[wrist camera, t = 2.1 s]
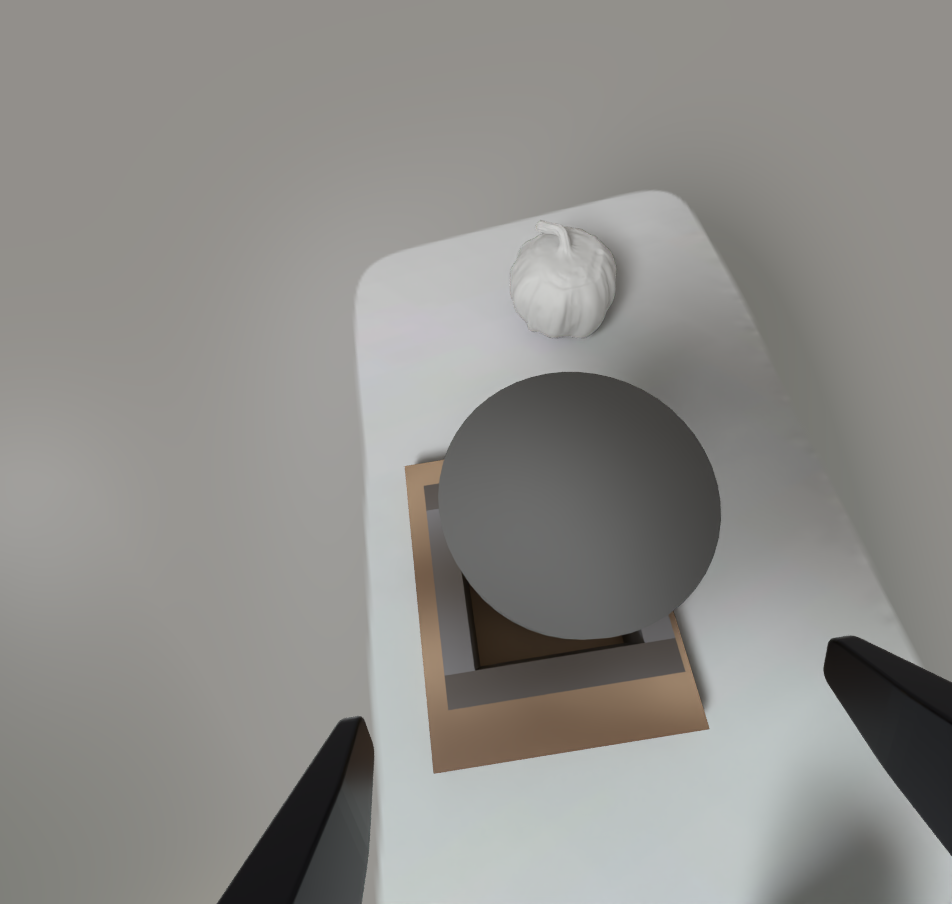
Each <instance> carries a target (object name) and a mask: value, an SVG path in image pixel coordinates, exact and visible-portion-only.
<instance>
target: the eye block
mask: <svg viewBox="0 0 952 904" xmlns="http://www.w3.org/2000/svg"><path fill="white" fill-rule="evenodd" d="M443 461H444V460H439V461H433V462H427V463H421V464H415V465H409V466H405V474H406V485H407V495H408V506H409V517H410V527H411V538H412V549H413V559H414V570H415V580H416V591H417V602H418V612H419V623H420V634H421V644H422V655H423V665H424V676H425V687H426V697H427V708H428V719H429V729H430V740H431V750H432V761H433V772H434V774H435V773H441V772H447V771H453V770H459V769H465V768H472V767H478V766H484V765H490V764H496V763H503V762H509V761H515V760H521V759H527V758H534V757H540V756H546V755H552V754H558V753H564V752H571V751H577V750H583V749H589V748H595V747H602V746H608V745H614V744H620V743H626V742H632V741H639V740H645V739H651V738H657V737H663V736H670V735H676V734H682V733H688V732H694V731H701V730H707V729H709V725H708V722H707V719H706V716H705V712H704V709H703V706H702V703H701V699H700V696H699V693H698V690H697V686H696V683H695V680H694V677H693V673H692V670H691V667H690V663H689V660H688V657H687V654H686V650H685V647H684V644H683V641H682V637H681V634H680V631H679V628H678V624H677V621H676V618H675V615H674V611H672V612H671V613H670V614H669V615H667V616H665V617H664V618H662V619H660V620H659V621H657V622H655V623H654V624H652V625H650V626H647V627H645V628H642V629H640V630H637V631H635V632H632V633H628V634H624V635H620V636H616V637H611V638H600V639H586V640H578V639H562V638H557V637H552V636H546V635H543V634H540V633H537V632H534V631H531V630H528V629H526V628H524V627H522V626H520V625H518V624H516V623H514V622H512V621H510V620H509V619H507V618H506V617H504V616H503V615H501V614H500V613H498V612H497V611H496V610H495V609H493V608H492V607H491V606H490V605H489V604H488V603H487V602H485V601H484V600H483V599H482V597H481V596H480V595H479V594H478V593H477V592H476V591H475V590H474V588H473V587H472V586H471V584H470V583H469V582H468V580H467V579H466V577H465V576H464V574H463V573H462V571H461V570H460V568H459V567H458V565H457V564H456V562H455V560H454V558H453V556H452V554H451V552H450V550H449V548H448V545H447V542H446V539H445V536H444V533H443V530H442V525H441V520H440V514H439V501H438V492H439V480H440V474H441V470H442V465H443Z"/></svg>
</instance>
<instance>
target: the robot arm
mask: <svg viewBox="0 0 952 904" xmlns="http://www.w3.org/2000/svg"><path fill="white" fill-rule="evenodd" d="M823 670H824V676H825V678H826V681H827V683H828V684H829V686H830V688H831V689H832V691H833V692H834V694H835V695H836V697H837V698H838V700H839V701H840V703H841V704H842V706H843V707H844V709H845V710H846V712H847V713H848V715H849V717H850V718H851V720H852V721H853V723H854V724H855V726H856V727H857V729H858V730H859V732H860V733H861V735H862V736H863V738H864V739H865V741H866V742H867V744H868V746H869V747H870V749H871V750H872V752H873V753H874V755H875V756H876V758H877V759H878V760H879V762H880V763H881V765H882V766H883V768H884V769H885V770H886V772H887V773H888V774H889V776H890V777H891V778H892V780H893V781H894V782H895V784H896V785H897V786H898V788H899V789H900V790H901V791H902V793H903V794H904V795H905V797H906V798H907V799H908V800H909V802H910V803H911V804H912V806H913V807H914V808H915V809H916V811H917V812H918V813H919V815H920V816H921V817H922V819H923V820H924V821H925V822H926V824H927V825H928V826H929V828H930V829H931V830H932V831H933V833H934V834H935V835H936V837H937V838H938V839H939V840H940V842H941V843H942V844H943V846H944V847H945V848H946V849H947V851H948V852H949V853H950V855H951V856H952V682H950V681H948V680H946V679H943V678H942V677H939V676H937V675H935V674H933V673H931V672H929V671H927V670H925V669H923V668H921V667H919V666H917V665H915V664H913V663H911V662H909V661H906V660H904V659H902V658H900V657H898V656H896V655H894V654H892V653H890V652H888V651H886V650H884V649H882V648H880V647H878V646H876V645H874V644H871V643H869V642H867V641H865V640H863V639H861V638H859V637H856V636H843V637H837V638H833V639H831V640H830V641H829V642H828V646H827V651H826V657H825V662H824V668H823ZM373 769H374V747H373V743H372V740H371V737H370V734H369V732H368V729H367V726H366V723H365V721H364V719H363V718H362V717H361V716H356V717H349V718H344V719H342V720H340V721H339V722H338V723H337V725H336V727H335V728H334V729H333V731H332V732H331V734H330V735H329V737H328V738H327V740H326V741H325V743H324V744H323V746H322V747H321V749H320V750H319V752H318V753H317V755H316V756H315V758H314V759H313V761H312V763H311V764H310V765H309V767H308V768H307V770H306V771H305V773H304V774H303V776H302V777H301V779H300V780H299V782H298V783H297V785H296V786H295V788H294V789H293V791H292V792H291V794H290V795H289V797H288V798H287V800H286V801H285V803H284V804H283V806H282V807H281V809H280V810H279V812H278V813H277V815H276V816H275V817H274V819H273V820H272V822H271V824H270V825H269V827H268V828H267V830H266V831H265V833H264V834H263V835H262V837H261V839H260V840H259V841H258V843H257V845H256V846H255V848H254V849H253V850H252V852H251V853H250V855H249V856H248V858H247V859H246V861H245V862H244V864H243V865H242V867H241V868H240V870H239V871H238V873H237V874H236V876H235V877H234V879H233V880H232V882H231V883H230V885H229V886H228V888H227V889H226V891H225V892H224V894H223V895H222V897H221V898H220V900H219V901H218V903H217V904H362V897H363V891H364V883H365V877H366V870H367V863H368V854H369V841H370V825H371V806H372V787H373Z"/></svg>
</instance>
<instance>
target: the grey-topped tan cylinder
mask: <svg viewBox="0 0 952 904" xmlns="http://www.w3.org/2000/svg"><path fill="white" fill-rule="evenodd" d="M438 501H439V514H440V520H441V525H442V530H443V533H444V536H445V539H446V542H447V545H448V548H449V550H450V552H451V554H452V556H453V558H454V560H455V562H456V564H457V565H458V567H459V568H460V570H461V571H462V573H463V574H464V576H465V577H466V579H467V580H468V582H469V583H470V584H471V586H472V587H473V588H474V590H475V591H476V592H477V593H478V594H479V595H480V596H481V597H482V599H483V600H484V601H485V602H487V603H488V604H489V605H490V606H491V607H492V608H493V609H495V610H496V611H497V612H498V613H500V614H501V615H503V616H504V617H506V618H507V619H509V620H510V621H512V622H514V623H516V624H518V625H520V626H522V627H524V628H526V629H528V630H531V631H534V632H537V633H540V634H543V635H546V636H552V637H557V638H562V639H578V640H586V639H600V638H611V637H616V636H620V635H624V634H628V633H632V632H635V631H637V630H640V629H642V628H645V627H647V626H650V625H652V624H654V623H655V622H657V621H659V620H660V619H662V618H664V617H665V616H667V615H669V614H670V613H671V612H672V611H673V610H675V609H676V608H677V607H678V606H680V605H681V604H682V603H683V602H684V601H685V600H686V599H687V598H688V597H689V596H690V594H691V593H692V592H693V591H694V590H695V589H696V587H697V586H698V584H699V583H700V581H701V580H702V578H703V577H704V575H705V574H706V572H707V570H708V567H709V565H710V563H711V561H712V558H713V556H714V553H715V549H716V546H717V542H718V538H719V531H720V522H721V508H720V497H719V491H718V485H717V481H716V478H715V475H714V472H713V468H712V466H711V464H710V461H709V459H708V457H707V455H706V453H705V451H704V449H703V447H702V446H701V444H700V443H699V441H698V439H697V438H696V436H695V435H694V434H693V432H692V431H691V430H690V429H689V427H688V426H687V425H686V424H685V423H684V421H683V420H681V419H680V418H679V417H678V416H677V415H676V414H675V413H674V412H673V411H672V410H671V409H670V408H669V407H667V406H666V405H665V404H663V403H662V402H661V401H660V400H658V399H657V398H655V397H653V396H652V395H650V394H649V393H647V392H645V391H644V390H642V389H639V388H637V387H635V386H633V385H631V384H629V383H626V382H623V381H620V380H617V379H614V378H611V377H607V376H602V375H598V374H591V373H582V372H559V373H550V374H544V375H539V376H535V377H531V378H528V379H525V380H522V381H519V382H516V383H514V384H512V385H510V386H508V387H506V388H504V389H502V390H500V391H499V392H497V393H496V394H494V395H492V396H491V397H489V398H488V399H487V400H486V401H484V402H483V403H482V404H481V405H480V406H478V407H477V408H476V409H475V410H474V411H473V412H472V413H471V415H470V416H469V417H468V418H467V419H466V420H465V421H464V423H463V424H462V426H461V427H460V428H459V430H458V431H457V433H456V434H455V436H454V438H453V440H452V442H451V444H450V446H449V448H448V451H447V453H446V456H445V459H444V461H443V465H442V470H441V474H440V480H439V492H438Z"/></svg>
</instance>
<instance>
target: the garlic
mask: <svg viewBox="0 0 952 904" xmlns="http://www.w3.org/2000/svg"><path fill="white" fill-rule="evenodd" d="M536 230H537V231H539V232H541V233H542V234H540V235H538V236H537V237H535V238H533V239H531V240H529V241H527V242H525V243H524V244H523V245H522V247H521V248H520V250H519V253H518V256H517V260H516V261H515V263H514V264H513V266H512V268H511V271H510V296H511V299H512V301H513V305H514V308H515V310H516V312H517V313H518V315H519V316H520V317H521V318H523V320H524V321H525V322H526V323H527V325H528V329H529V330H530V331H531V332H539V333H541V334H543V335H545V336H547V337H550V338H560V337H567V336H571V337H574V338H585V337H588V336H590V335H591V334H592V333H593V332H594V331H595V330H597V329H598V328H599V326H600V325H601V323H602V322H603V320H604V317H605V314H606V311H607V310H608V309H609V307H610V306H611V304H612V302H613V300H614V297H615V291H616V286H615V285H616V272H617V269H616V264H615V260H614V257H613V255H612V253H611V251H610V250H609V249H608V248H607V247H606V246H605V245H604V244H603V243H602V242H601V241H599V240H598V238H597V237H596V236H594V235H591V234H588V233H587V232H585V231H584V230H583V229H579V228H571V227H563V226H561V225H559V224H556V223H550V222H545V221H543V220H540V221H539V222H538V223H537V224H536Z"/></svg>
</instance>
